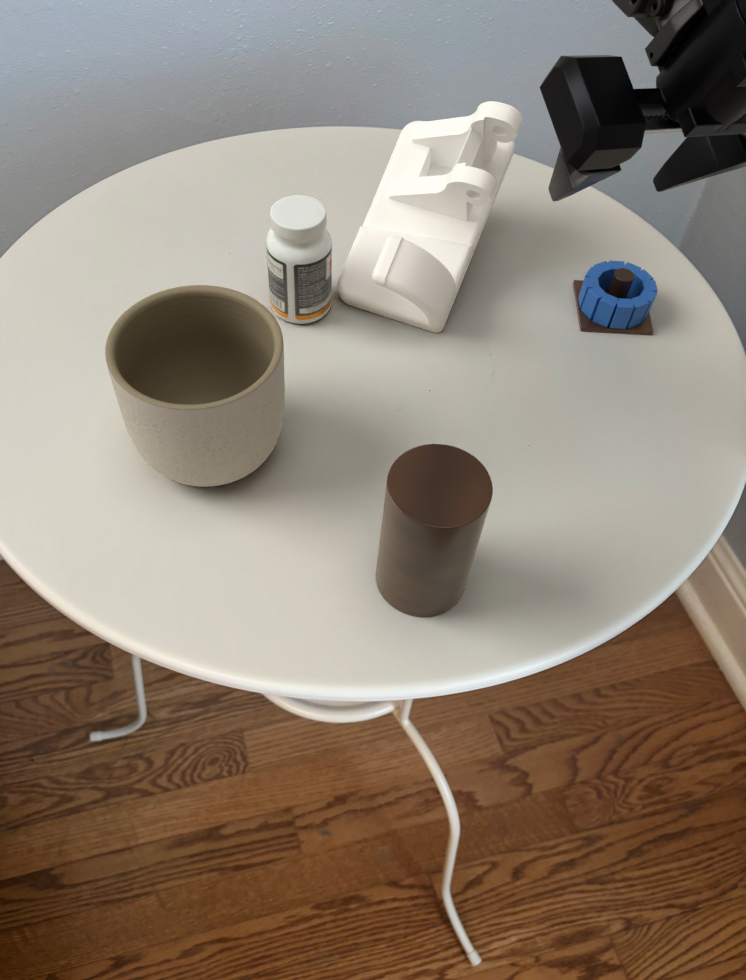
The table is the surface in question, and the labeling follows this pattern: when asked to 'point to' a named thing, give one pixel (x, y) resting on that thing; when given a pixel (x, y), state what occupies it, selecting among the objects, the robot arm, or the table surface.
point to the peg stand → (619, 290)
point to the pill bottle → (299, 259)
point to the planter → (199, 382)
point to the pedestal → (431, 527)
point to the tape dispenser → (429, 216)
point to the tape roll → (609, 307)
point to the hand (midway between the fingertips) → (605, 190)
